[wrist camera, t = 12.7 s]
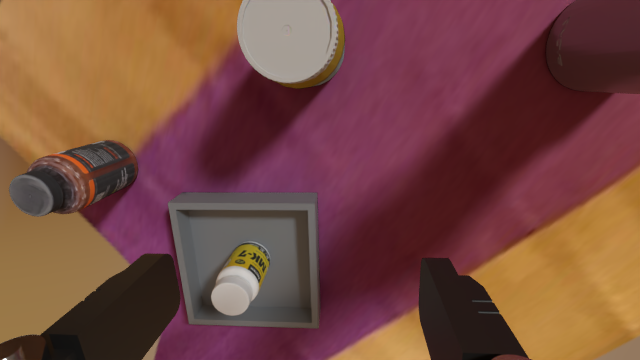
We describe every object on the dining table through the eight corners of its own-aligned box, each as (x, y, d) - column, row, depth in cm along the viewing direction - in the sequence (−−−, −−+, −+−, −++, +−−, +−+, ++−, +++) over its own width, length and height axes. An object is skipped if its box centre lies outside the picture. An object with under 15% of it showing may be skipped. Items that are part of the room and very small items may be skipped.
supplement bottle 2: (278, 253, 40) (261, 296, 32) (259, 279, 41) (239, 327, 33) (245, 232, 40) (220, 271, 32) (227, 260, 41) (199, 304, 33)
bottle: (325, 97, 35) (313, 109, 21) (267, 67, 34) (213, 58, 20) (356, 34, 33) (366, -1, 18) (294, 1, 32) (255, -61, 18)
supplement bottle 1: (91, 134, 38) (-8, 156, 27) (140, 144, 38) (60, 169, 27) (93, 182, 40) (1, 219, 29) (140, 190, 40) (65, 232, 29)
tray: (317, 192, 38) (314, 203, 35) (320, 309, 43) (318, 328, 40) (182, 192, 39) (167, 202, 36) (200, 305, 44) (189, 324, 41)
